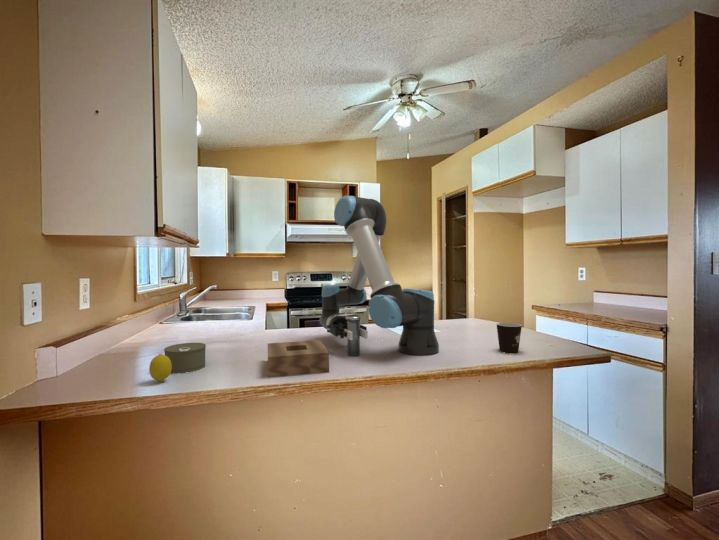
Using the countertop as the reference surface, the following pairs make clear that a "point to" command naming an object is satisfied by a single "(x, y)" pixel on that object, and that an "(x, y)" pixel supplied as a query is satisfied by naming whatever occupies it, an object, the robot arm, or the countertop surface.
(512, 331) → the coffee mug
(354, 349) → the pin
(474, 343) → the countertop surface
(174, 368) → the can
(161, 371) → the lemon
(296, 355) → the block
